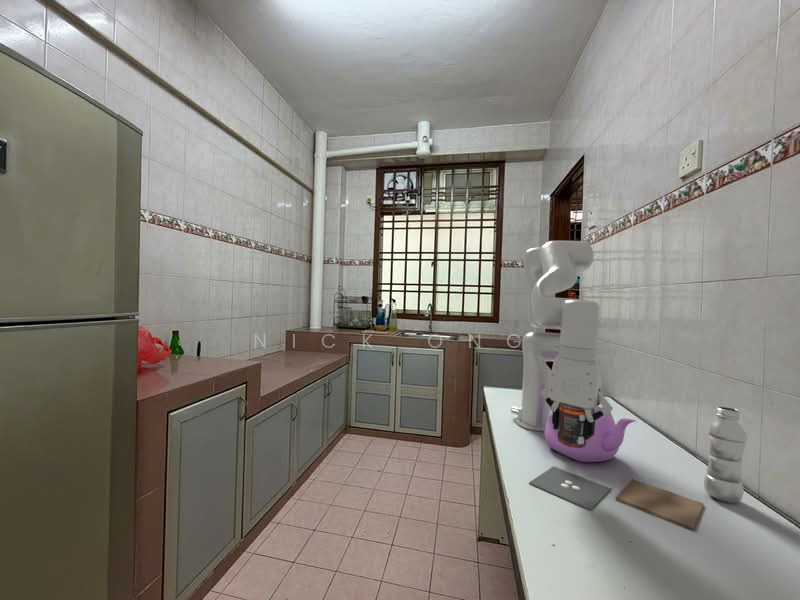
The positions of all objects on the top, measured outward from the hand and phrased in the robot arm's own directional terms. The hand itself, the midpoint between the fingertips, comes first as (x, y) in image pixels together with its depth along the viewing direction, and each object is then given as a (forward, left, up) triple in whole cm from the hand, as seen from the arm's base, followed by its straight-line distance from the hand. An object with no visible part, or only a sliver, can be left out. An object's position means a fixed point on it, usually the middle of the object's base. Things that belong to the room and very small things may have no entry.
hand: (572, 432), depth 81 cm
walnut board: (+15, +8, -12) cm, 21 cm away
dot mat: (0, -1, -12) cm, 12 cm away
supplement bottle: (0, 0, -3) cm, 3 cm away
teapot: (-5, +21, -12) cm, 25 cm away
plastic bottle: (+24, +22, -12) cm, 35 cm away
